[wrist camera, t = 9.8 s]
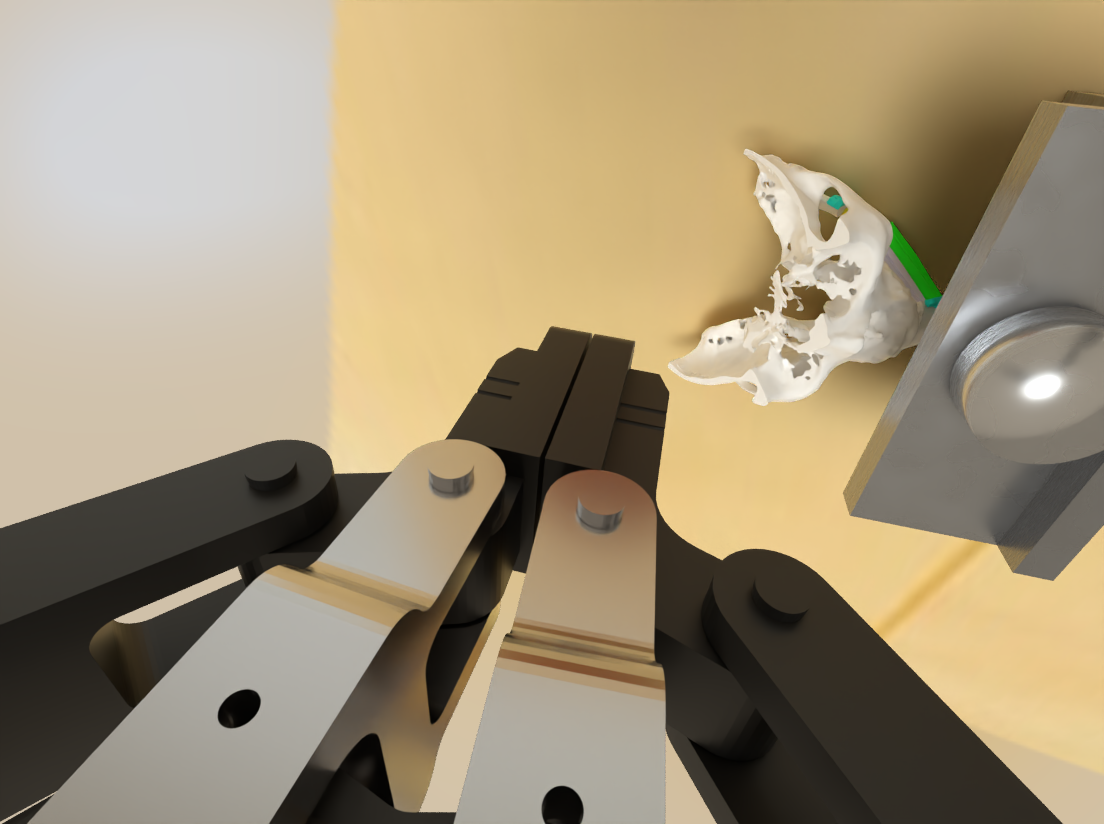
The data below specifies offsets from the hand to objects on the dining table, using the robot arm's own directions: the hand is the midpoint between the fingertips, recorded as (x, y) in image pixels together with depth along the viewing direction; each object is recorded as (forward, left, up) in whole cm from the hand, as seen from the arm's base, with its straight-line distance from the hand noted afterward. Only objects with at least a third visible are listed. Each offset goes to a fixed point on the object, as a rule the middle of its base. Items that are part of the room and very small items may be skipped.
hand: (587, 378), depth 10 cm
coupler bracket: (+4, +18, -24) cm, 30 cm away
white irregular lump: (+5, +9, -25) cm, 27 cm away
